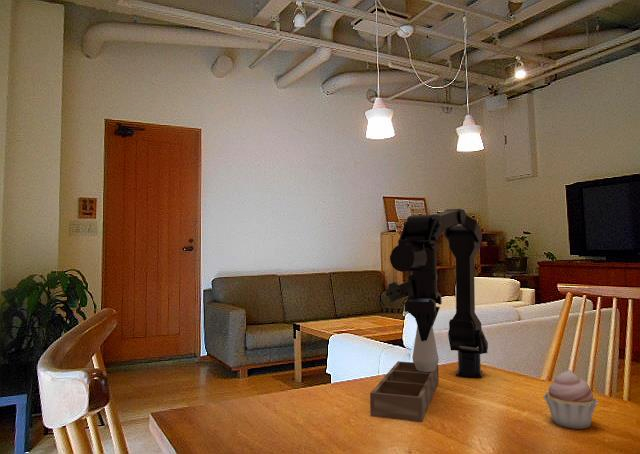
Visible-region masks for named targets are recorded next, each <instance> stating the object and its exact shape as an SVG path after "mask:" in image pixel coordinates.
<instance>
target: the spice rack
mask: <svg viewBox="0 0 640 454" xmlns="http://www.w3.org/2000/svg"><path fill="white" fill-rule="evenodd" d="M439 381H440V380H439V363H438V364H437V366H436V368H435V370H434V371H432V372H423V371H418V370H417V369H416V367H415V364H414V362H413V361H412V362H410V361H397V362H396V363H395V364H394V365H393V366H392V367H391V368H390V370H388V372H387V373H386V374H385V376H383V378H381V380H380V381H379V382H378V384H377V385H376V386H375V387H374V388H373V389H372V391H371V392H369V393H370V394H369V395H370V397H369V398H370V401H369V404H370V408H369V409H370V417H379V418H387V419H394V420H395V419H396V420H402V421H411V422H413V421H414V422H420V423H422V422H423V420H424V418H425V416H426V414H427V411H428V408H429V406H430V404H431V401H432V399H433V397H434V394H435V392H436V390H437V388H438V385H439Z"/></svg>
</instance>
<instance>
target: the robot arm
mask: <svg viewBox="0 0 640 454" xmlns="http://www.w3.org/2000/svg"><path fill="white" fill-rule="evenodd" d="M442 235H444V237H445V238H446V240H447V241H448V247H449V250H450V251H451V254H452V255H453V256H454V258H455V305H456V306H455V311H456V312H455V314H454V315H453V317H452V319H450V320H449V321H448V327H449V329H448V332H447V333H448V334H447V336H448V341H449V348H450V349H449V350H450V351H454V352H455V351H456V352H457V365H458V368H457V370H456V371H455V372H456V373H455V375H456V377H467V378H481V379H482V378H483V372H484V371H483V370H482V366H481V355H483V354H488V349H489V342H488V341H487V338H486V336H485V333H484V331H483V327H482V322H481V321H480V318H479V317H478V316H477V314H476V312H475V311H476V304H475V301H476V300H475V295H476V294H475V258H476V256H477V254H478V253H479V251H480V249H481V242H482V240H483V231H482V229H481V227H480V225H479V223H478V221H476V220H475V219H474V218H472V217H471V216H469V215H468V214H467V213H466V211H465V210H464V209H461V208H452V209H451V208H450V209H445V210H443V211H441V212H437V213H434V214H421V215H420V214H418V215H415V214H414V215H409V216H408V217H407V218H406V221H405V222H404V225H403V228H402V231H401V233H400V237H399V239H398V240H397V244H398V245H396V246H395V247H394V248H393V249H392V251H391V253H390V255H389V261H390V264H391V266H392V268H393V269H394V270H395V271H397V272H401V273H404V272H405V273H406V272H410V274H409V275H408V277H407V281H405V282H402V283H401V284H399V283H397V281H394V282H391V283H389V284H388V287H387V288H386V289H385V290H384V291H385V296H386V297H387V298H388V302H389V303H394V302H396V301H397V300H399V299H403V298H406V297H407V299H406V300H405V301H404V303H403V304H404V305H403V306H404V308H403V309H404V312H406V313H408V314H409V315H411V316H412V317H414V319H416V320H415V323H416V327H417V326H418V330H419V334H420V338H421V341H425V340H426V341H427V339H428V336H429V333H430V330H431V327H432V326H433V327H434V324H435V321H436V319H437V316H438V314H439V312H440V311H439V310H440V307H441V306H437V304H438V305H442V304H443V303H442V301H443V300H442V298H443V296H442V295H441V293H439V291H438V287H437V286H438V276H439V275H438V273H437V271H438V270H437V251H439V249H440V247H439V246H438V244H437V243H436V241H438V239H439V238H441V236H442Z"/></svg>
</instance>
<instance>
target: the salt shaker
mask: <svg viewBox="0 0 640 454" xmlns="http://www.w3.org/2000/svg"><path fill="white" fill-rule="evenodd" d="M414 319H415V318H414ZM415 321H416V319H415ZM412 351H413V352H412V357H411V359H412V362H414V364H415V367H416V369H417V370H418V371H423V372H432V371H434V370H435V368H436V366H437V364H438V365H439V360H440V359H439V354H438V350H437V344H436V339H435V333H434V325H433V326H432V327H431V330H430V333H429V336H428V339H427V341H426V340H425V341H421V338H420V334H419V330H418V326H417V325H416V332H415V337H414V345H413V350H412Z"/></svg>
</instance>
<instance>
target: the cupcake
mask: <svg viewBox="0 0 640 454" xmlns="http://www.w3.org/2000/svg"><path fill="white" fill-rule="evenodd" d="M593 397H594V393H593V391H592V388H590V385H589V384H588V383H587V382H586V381H585V380H583V379H581V378H579V377H578V376H577V375H576V373H574V372H573V371H572V370H571V369H568V370H566V371H563V372H561V373H560V374H558V375H557V376H556V377H555V379H554V381H553V382H552V383H551V384H550V385H549V386H548V392H545V393H544V395H543V398H544V400H545V402H546V404H547V406H548V408H549V411H550V412H549V413H550V415H551V420H552V421H553V422H554V424H555V425H558V426H561V427H564V428H568V429H575V430H582V429H584V430H585V429H587V428H588V429H589V427H590V426H591V425H592V420H593V415H594V414H593V413H594V410H595V409H596V407H597V405H598V402H599V400H598V399H596V398H593Z"/></svg>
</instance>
